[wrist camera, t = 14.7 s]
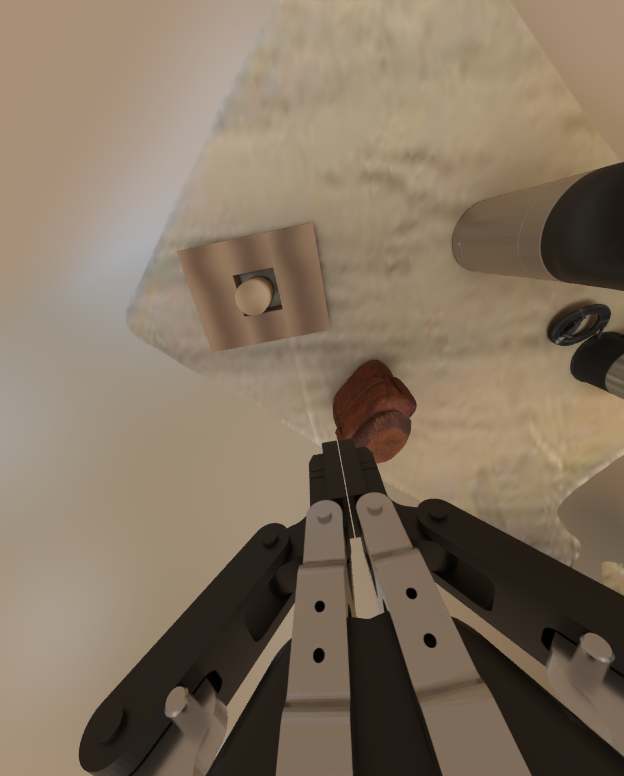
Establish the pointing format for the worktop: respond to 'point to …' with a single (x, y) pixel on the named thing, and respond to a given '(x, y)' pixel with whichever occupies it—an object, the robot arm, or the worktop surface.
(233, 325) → the wooden board with hole
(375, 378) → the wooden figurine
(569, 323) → the milk frother
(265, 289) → the beech peg
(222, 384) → the worktop surface
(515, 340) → the worktop surface
